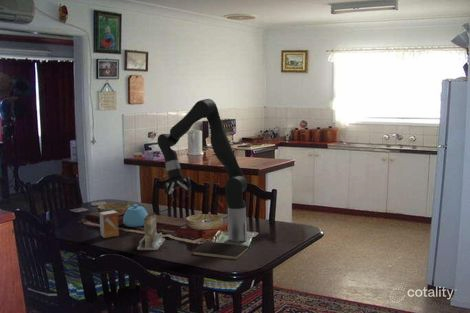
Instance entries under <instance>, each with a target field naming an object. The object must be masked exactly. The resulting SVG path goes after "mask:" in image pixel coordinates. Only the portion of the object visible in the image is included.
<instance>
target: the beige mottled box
mask: <svg viewBox="0 0 470 313" xmlns="http://www.w3.org/2000/svg"><path fill="white" fill-rule="evenodd" d="M156 215H157V213H156V212H155V213H148V215H147V216H146V217H145V218H144V226H143V228H144V236H145V246H152V242H153V241H154V239H155V238H156V237H157V236H158V232H157V216H156Z"/></svg>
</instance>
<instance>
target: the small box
mask: <svg viewBox="0 0 470 313" xmlns="http://www.w3.org/2000/svg"><path fill="white" fill-rule="evenodd" d="M98 214H99V228H100V229H99V230H100V236H101V237H103V238H104V239H108V238H113V237H118V236H120V235H119V234H120V232H119V215H118V212H117V211H116V210H109V211H107V210H106V211H101V212H99V213H98Z"/></svg>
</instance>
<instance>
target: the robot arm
mask: <svg viewBox="0 0 470 313" xmlns="http://www.w3.org/2000/svg"><path fill="white" fill-rule="evenodd" d="M219 112H220V111H219V109H218V106H217V104H216V102H215V101H214V100H213V99H211V98H206V99H201V100H198V101H197V102H195V104H194V105H193V106H192V107H191V109H190V110H189V111H188V112H187V113H186V115H184V117H182V118H181V119H180V120H179V121H178V122H177V123H176V124H174V125H173V126H171V128H170V130H169V133H161V134H159V135H158V137H157V145H158V147H159V149H160V151H161V153H162V156H163V157H164V158H163V160H164V162H165V169H166V173H167V174H166V175H167V178H168V182H164V183H163V189H164V194H166V195H168V197H169V200H170V201H171V202H174V201H175V199H174V195H173V192H174V190H176V189H179V188H183V189H185V195H186V196H185V197H186V198H189V197H190V189H192V184H191V180H190V177H188V176H186V177H183V173H182V170H181V165H180V164H181V163H180V161H179V158H178V153H177V151H176V150H175V149H172V147H173V146H176V145H177V144H178V142H179V141H180V139H181V138H182V137H183V136H184V135H186V134H187V133H188V132H189V130H191V128H192V126H193V125H194V124H196V123H197V122H199V121H200V120H202V119H206V120H207V122H208V125H209V127H210V128H209V129H210V145H211V148H212V150H213V152H214V155H215V157H216V158H217V160H218V161H219V163H221V165H222V166H223V167H224V169H225V170H226V172H227V176H228V179H227V180H226V182H225V187H224V189H225V190H224V191H225V202H226V204H227V226H228V228H227V230H228V231H227V232H228V240H229V241H230V240H231V241H230V242H233V241H234V242H235V243H240V241H241V242H246V241H247V236H248V233H247V232H248V231H247V229H248V228H247V216H246V215H247V208H246V206H247V205H246V201H245V200H244V196H243V194H244V193H243V192H244V191H246V189H247V188H248V187H247V186H248V182H247V179H246V176H245V175H244V173H243V170H242V169H241V167H240V165H239V163H238V160H237V159H236V155H235V153H234V150H233V148H232V145H231V143H230V140H229V137H228V136H227V133H226V130H225V128H224V125H223V123H222V119H221V116H220V113H219ZM184 182H186V184H187V185H186V184H184ZM169 186H170V188H168V187H169ZM234 242H233V243H234Z"/></svg>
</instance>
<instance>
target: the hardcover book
mask: <svg viewBox="0 0 470 313" xmlns="http://www.w3.org/2000/svg"><path fill="white" fill-rule="evenodd" d="M248 250H250V246H249V245H242V244H237V243H236V244H235V243H234V244H233V243H223V242H217V241H216V242H214V241H207V240H206V241H204V242H203V243H202V244H200V245H199V246H197V247H195V248H194V249H192V250H191V252H192V255H196V256H197V255H198V256H205V257H213V258H223V259H232V260H237V259H238V258H240V257H241V256H242V255H243V254H244V253H246V252H247V251H248Z"/></svg>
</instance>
